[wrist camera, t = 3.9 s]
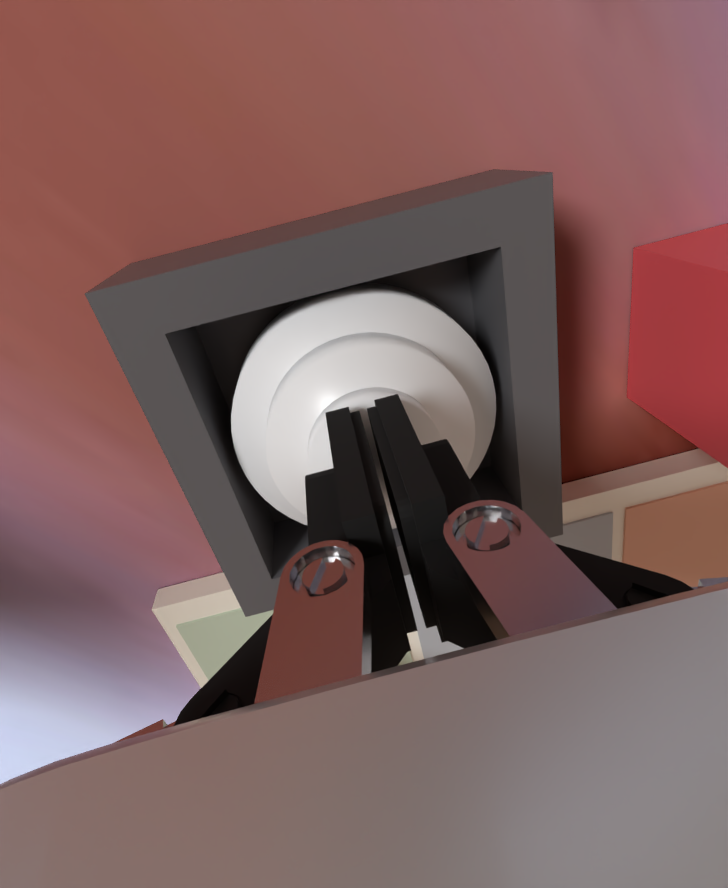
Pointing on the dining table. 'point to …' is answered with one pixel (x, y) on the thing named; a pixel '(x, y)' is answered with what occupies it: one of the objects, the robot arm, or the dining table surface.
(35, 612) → the dining table surface
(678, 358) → the die
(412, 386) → the dome
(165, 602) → the board
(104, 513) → the dining table surface
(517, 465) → the dome housing
